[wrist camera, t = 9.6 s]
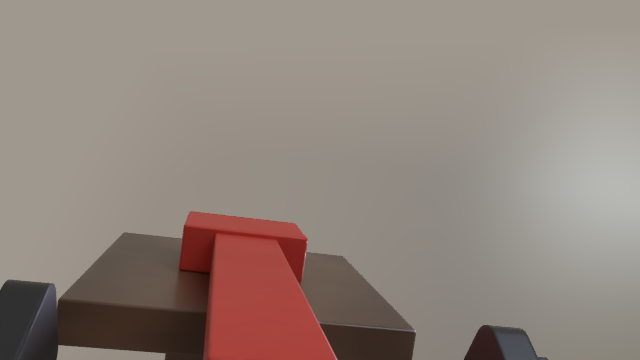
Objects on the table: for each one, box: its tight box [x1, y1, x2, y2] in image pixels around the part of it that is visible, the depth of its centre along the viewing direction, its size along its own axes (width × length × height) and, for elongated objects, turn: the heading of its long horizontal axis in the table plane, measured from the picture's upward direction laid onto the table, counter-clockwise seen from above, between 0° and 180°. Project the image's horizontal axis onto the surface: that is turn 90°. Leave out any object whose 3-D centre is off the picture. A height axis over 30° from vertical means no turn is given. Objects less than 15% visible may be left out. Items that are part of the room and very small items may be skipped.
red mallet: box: [179, 211, 337, 360], centre depth 19 cm, size 5×17×2 cm, turn 9°
